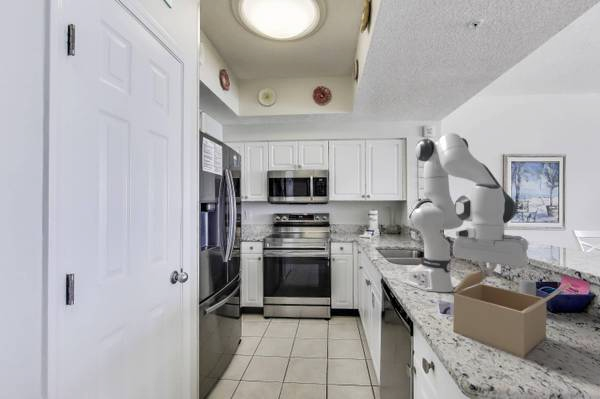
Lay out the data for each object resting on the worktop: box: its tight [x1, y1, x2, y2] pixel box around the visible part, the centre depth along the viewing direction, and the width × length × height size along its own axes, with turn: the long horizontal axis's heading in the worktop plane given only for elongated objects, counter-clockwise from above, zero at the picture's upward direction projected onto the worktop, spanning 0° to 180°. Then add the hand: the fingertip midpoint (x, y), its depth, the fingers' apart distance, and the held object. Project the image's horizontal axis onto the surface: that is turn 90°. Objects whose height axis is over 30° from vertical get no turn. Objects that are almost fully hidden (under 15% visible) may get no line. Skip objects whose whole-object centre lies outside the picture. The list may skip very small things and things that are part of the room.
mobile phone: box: [436, 300, 454, 318], centre depth 106 cm, size 8×1×15 cm
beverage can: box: [518, 278, 537, 296], centre depth 104 cm, size 5×5×12 cm
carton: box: [453, 283, 547, 359], centre depth 86 cm, size 18×20×12 cm
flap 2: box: [525, 282, 573, 313], centre depth 76 cm, size 8×19×1 cm
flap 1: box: [452, 266, 491, 293], centre depth 92 cm, size 8×19×1 cm
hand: (487, 276), depth 89 cm, fingers closed
